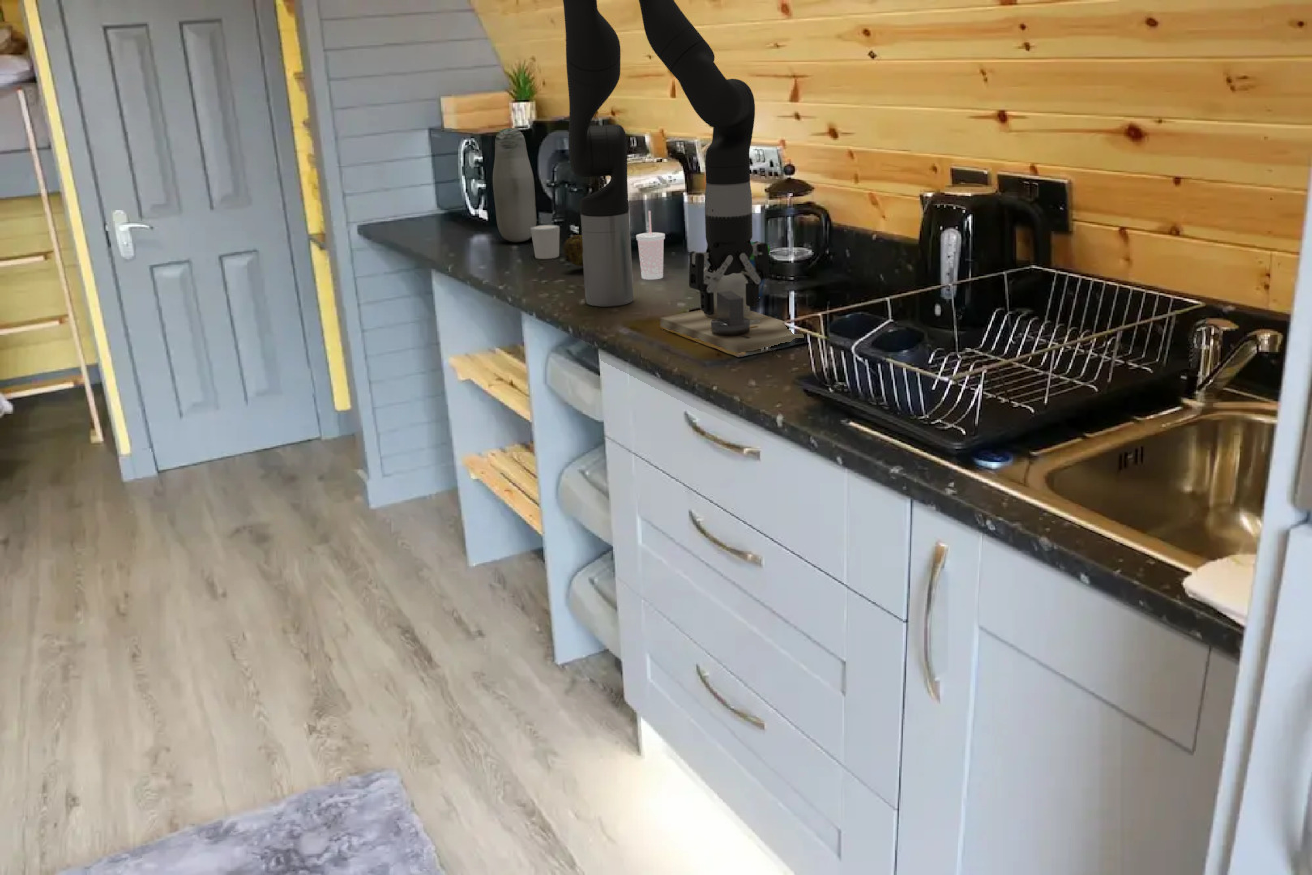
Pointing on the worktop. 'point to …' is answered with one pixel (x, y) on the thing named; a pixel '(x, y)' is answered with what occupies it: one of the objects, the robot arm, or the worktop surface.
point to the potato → (574, 250)
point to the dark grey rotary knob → (730, 315)
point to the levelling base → (756, 338)
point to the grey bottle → (513, 186)
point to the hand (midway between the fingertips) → (730, 310)
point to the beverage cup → (651, 253)
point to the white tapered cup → (545, 241)
